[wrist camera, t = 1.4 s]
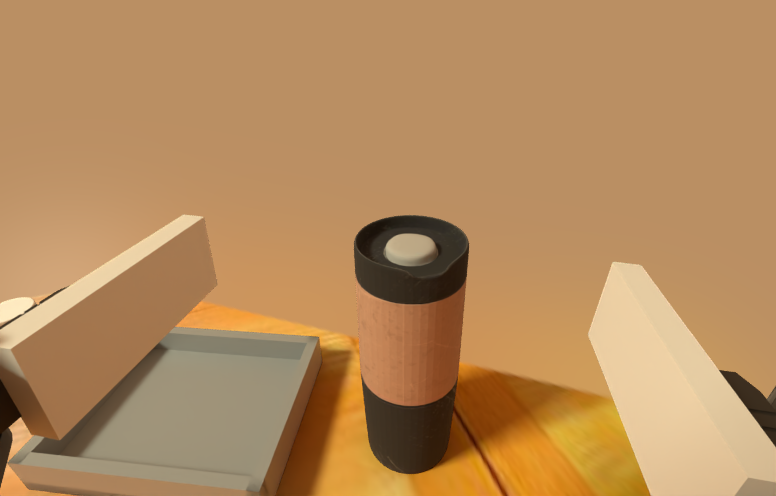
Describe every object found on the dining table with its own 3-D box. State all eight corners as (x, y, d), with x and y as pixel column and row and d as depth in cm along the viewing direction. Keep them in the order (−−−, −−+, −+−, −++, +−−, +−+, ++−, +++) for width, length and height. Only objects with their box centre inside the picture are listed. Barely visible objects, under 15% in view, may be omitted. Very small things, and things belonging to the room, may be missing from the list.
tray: (322, 361, 44) (318, 336, 42) (267, 518, 30) (259, 492, 28) (152, 348, 46) (142, 324, 44) (28, 489, 32) (7, 463, 31)
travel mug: (392, 388, 41) (390, 206, 31) (464, 422, 37) (488, 228, 27) (348, 449, 35) (327, 250, 25) (428, 496, 31) (440, 285, 21)
